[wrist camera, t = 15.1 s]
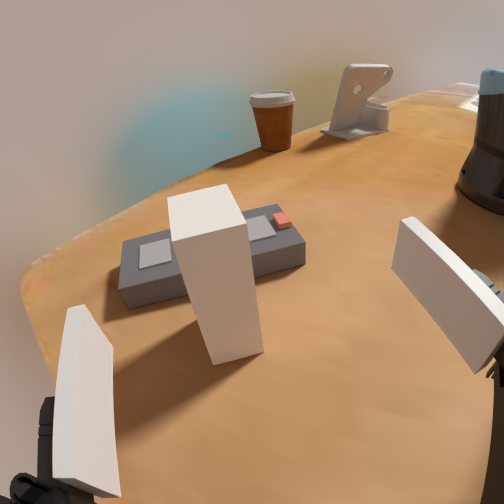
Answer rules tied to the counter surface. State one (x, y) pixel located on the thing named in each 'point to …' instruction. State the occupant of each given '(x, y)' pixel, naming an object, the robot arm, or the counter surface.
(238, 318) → the block
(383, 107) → the phone holder
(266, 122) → the disposable coffee cup
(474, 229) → the counter surface
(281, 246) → the power strip
